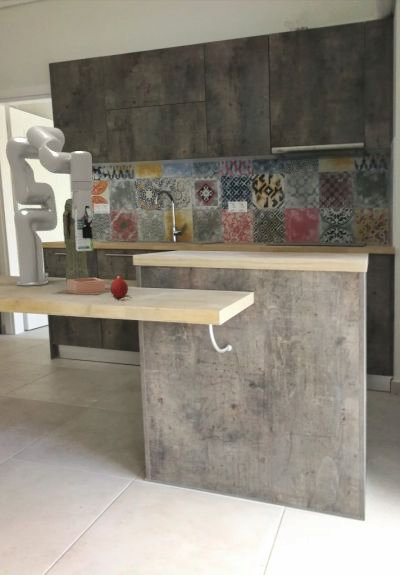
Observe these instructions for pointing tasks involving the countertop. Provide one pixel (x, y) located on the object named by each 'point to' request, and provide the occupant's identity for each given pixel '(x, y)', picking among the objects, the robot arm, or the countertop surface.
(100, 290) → the terracotta square tray
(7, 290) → the countertop surface
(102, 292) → the board
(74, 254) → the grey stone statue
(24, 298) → the countertop surface
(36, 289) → the countertop surface
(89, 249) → the syrup box
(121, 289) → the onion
